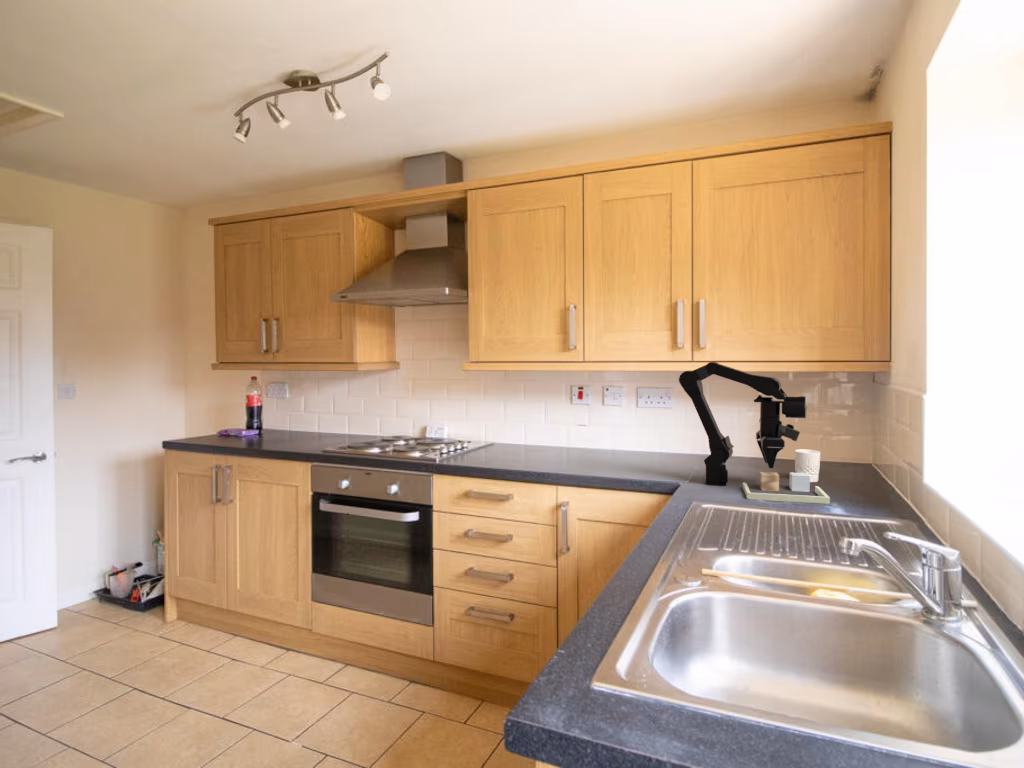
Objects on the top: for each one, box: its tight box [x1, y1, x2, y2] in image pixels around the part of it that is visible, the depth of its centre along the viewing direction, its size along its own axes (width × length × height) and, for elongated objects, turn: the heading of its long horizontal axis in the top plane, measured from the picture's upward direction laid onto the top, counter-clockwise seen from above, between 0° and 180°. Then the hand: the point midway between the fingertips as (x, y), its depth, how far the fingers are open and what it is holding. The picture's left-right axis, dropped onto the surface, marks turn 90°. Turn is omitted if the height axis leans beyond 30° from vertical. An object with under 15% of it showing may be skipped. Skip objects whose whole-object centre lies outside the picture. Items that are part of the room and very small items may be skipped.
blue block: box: [788, 471, 811, 493], centre depth 184 cm, size 5×5×5 cm
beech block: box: [759, 471, 780, 492], centre depth 185 cm, size 5×5×5 cm
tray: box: [742, 482, 831, 505], centre depth 176 cm, size 22×15×2 cm
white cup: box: [794, 448, 822, 483], centre depth 197 cm, size 8×8×10 cm
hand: (769, 465), depth 185 cm, fingers open, 9 cm apart
